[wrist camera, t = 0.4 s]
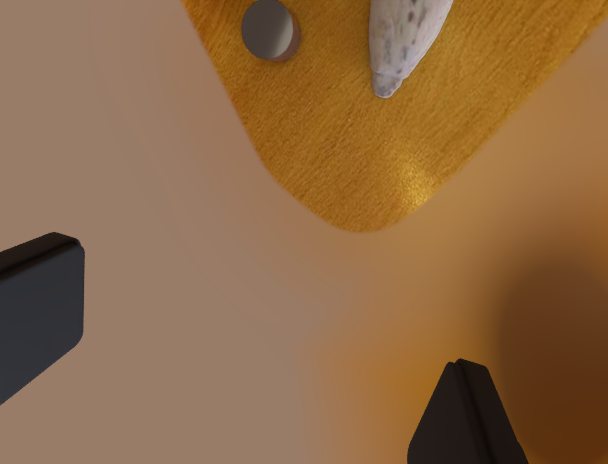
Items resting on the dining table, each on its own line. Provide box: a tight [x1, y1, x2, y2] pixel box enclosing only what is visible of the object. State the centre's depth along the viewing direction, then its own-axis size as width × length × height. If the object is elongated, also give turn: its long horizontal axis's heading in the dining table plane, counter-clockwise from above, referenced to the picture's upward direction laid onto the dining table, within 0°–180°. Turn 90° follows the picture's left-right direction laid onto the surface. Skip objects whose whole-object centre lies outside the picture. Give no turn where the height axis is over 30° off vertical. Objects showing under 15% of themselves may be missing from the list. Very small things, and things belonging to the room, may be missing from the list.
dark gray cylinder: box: [241, 0, 301, 63], centre depth 32 cm, size 4×4×3 cm
